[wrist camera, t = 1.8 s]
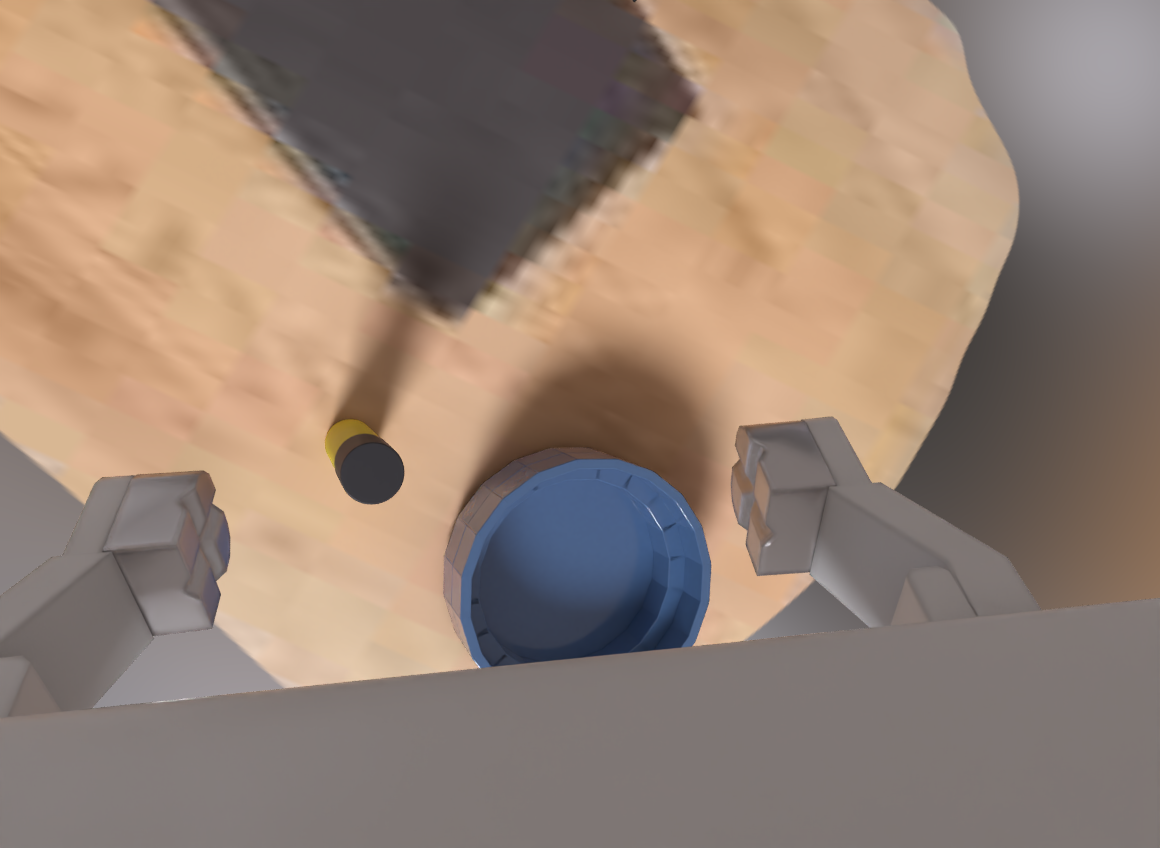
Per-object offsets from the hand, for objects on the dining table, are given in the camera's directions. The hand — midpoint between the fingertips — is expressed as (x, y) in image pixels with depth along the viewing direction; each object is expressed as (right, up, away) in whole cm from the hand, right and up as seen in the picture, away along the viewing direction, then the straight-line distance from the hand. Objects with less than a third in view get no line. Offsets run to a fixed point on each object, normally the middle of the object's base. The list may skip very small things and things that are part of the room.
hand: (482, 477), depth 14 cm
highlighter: (-12, 0, +38) cm, 40 cm away
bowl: (0, -8, +43) cm, 44 cm away
